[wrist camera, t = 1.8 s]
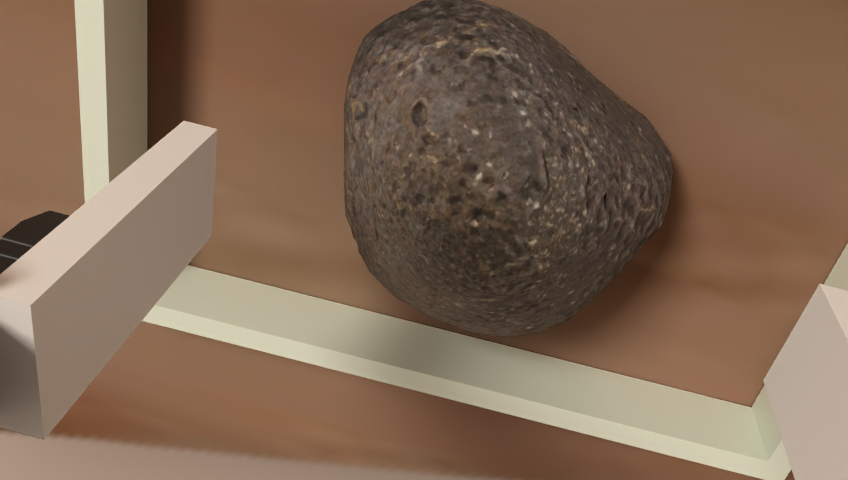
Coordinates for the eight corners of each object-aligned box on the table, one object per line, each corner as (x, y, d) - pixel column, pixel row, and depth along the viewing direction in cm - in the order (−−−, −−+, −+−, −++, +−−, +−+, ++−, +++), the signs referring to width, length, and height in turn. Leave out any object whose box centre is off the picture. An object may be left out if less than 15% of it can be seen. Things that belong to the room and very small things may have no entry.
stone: (582, 229, 28) (809, 194, 19) (421, 386, 26) (596, 433, 16) (425, 9, 27) (591, -147, 17) (232, 150, 24) (309, 54, 14)
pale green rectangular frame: (126, 267, 28) (90, 307, 26) (115, -322, 18) (57, -336, 16) (763, 429, 27) (781, 483, 25) (1086, -98, 18) (1158, -82, 16)
